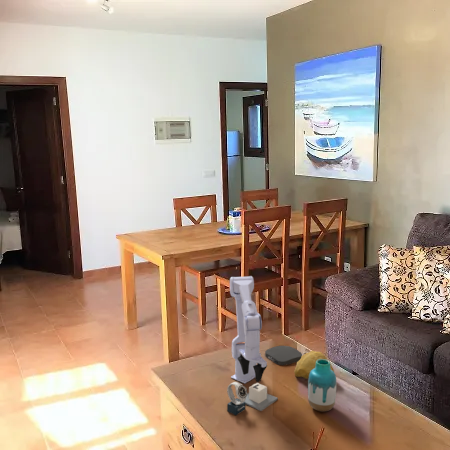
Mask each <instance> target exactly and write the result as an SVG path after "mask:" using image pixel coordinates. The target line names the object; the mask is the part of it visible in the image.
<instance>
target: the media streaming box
mask: <svg viewBox="0 0 450 450" xmlns="http://www.w3.org/2000/svg"><path fill="white" fill-rule="evenodd" d="M264 352H265V353H264V357H265V358H266V359H267V360H269V361H270V362H273V363H274V364H276V365H277V366H287V365H291V364H294V363H295V364H296V363H297V362H298V361H299V360H300V359H301V356H303V354H302V353H303V352H301V351H300V350H298V349H296V348H295V347H292V346H289V345H276V346H272V347H270V348H268V349H266V350H265V351H264Z"/></svg>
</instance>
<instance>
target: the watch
mask: <svg viewBox="0 0 450 450" xmlns="http://www.w3.org/2000/svg"><path fill="white" fill-rule="evenodd" d="M232 386H234V388H235V395H236V397H235V395H234V392H233V388H232ZM226 391H227V392H226V393H227V396H228V398H229V400H230V402H228V403H227V404H226V405H227V406H226V408H227V409H226V411H227V412H228V413H230V414H232V415H234V416H237V415H239V414H240V413H242V412H244V411H245V410H246V404H245V402H244V401H245V400H246V396H247V394H248V389H247V387H246V386H244V385H243V384H242V382H239V381H233V382H231V383H229V385H228V386H227V390H226Z"/></svg>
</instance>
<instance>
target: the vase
mask: <svg viewBox="0 0 450 450" xmlns="http://www.w3.org/2000/svg"><path fill="white" fill-rule="evenodd" d="M328 360H329V359H328ZM328 360H326V359H318V360H317V361H316V366H315V368H314V369H312V370H311V372H310V374H309V378H308V379H307V397H308V399H307V400H308V403H309V405H310V407H311V408H312V409H314V410H315V411H318V412H328V411H330V410H332V409H333V407H334V406H335V403H336V398H337V375H336V373H335V371H334V372H333V371H332V370H331V369H330V363H331V362H330V360H329V361H328Z"/></svg>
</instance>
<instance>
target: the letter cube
mask: <svg viewBox="0 0 450 450" xmlns="http://www.w3.org/2000/svg"><path fill="white" fill-rule="evenodd" d="M248 393H249V399H250V400H252V401H254V402H256V403H258V404H259V403H260V402H262V401H264V400H265V399H267V394H268V386H266V385H264V384H261V383H259V382H255V383H253V384H252V385H251V386H249V387H248Z"/></svg>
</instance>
